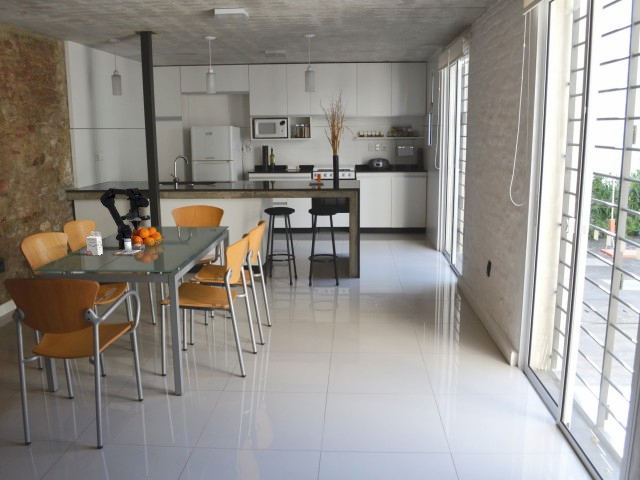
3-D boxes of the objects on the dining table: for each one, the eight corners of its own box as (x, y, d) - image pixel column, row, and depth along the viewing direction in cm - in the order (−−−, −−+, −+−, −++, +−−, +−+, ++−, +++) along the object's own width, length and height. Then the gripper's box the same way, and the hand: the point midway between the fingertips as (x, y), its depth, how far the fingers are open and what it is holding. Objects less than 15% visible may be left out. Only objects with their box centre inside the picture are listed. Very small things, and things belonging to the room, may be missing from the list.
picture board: (112, 255, 382) (112, 253, 382) (124, 250, 396) (124, 249, 395) (132, 256, 379) (132, 254, 379) (144, 251, 392) (144, 249, 392)
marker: (123, 251, 385) (122, 239, 384) (127, 250, 389) (126, 238, 388) (129, 252, 384) (128, 239, 383) (133, 250, 388) (132, 238, 387)
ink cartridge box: (87, 255, 385) (84, 232, 382) (92, 253, 390) (90, 231, 387) (98, 255, 382) (96, 232, 379) (103, 254, 387) (101, 231, 384)
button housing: (131, 250, 396) (130, 246, 395) (136, 248, 402) (136, 244, 401) (139, 250, 394) (139, 246, 394) (145, 249, 400) (144, 244, 400)
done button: (133, 248, 396) (132, 244, 396) (136, 247, 401) (136, 243, 400) (139, 248, 395) (138, 244, 395) (142, 247, 399) (142, 243, 399)
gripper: (114, 208, 388) (117, 232, 390) (141, 208, 383) (143, 233, 386) (124, 206, 398) (126, 229, 401) (150, 206, 394) (151, 230, 396)
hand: (136, 230), depth 396 cm, fingers closed
